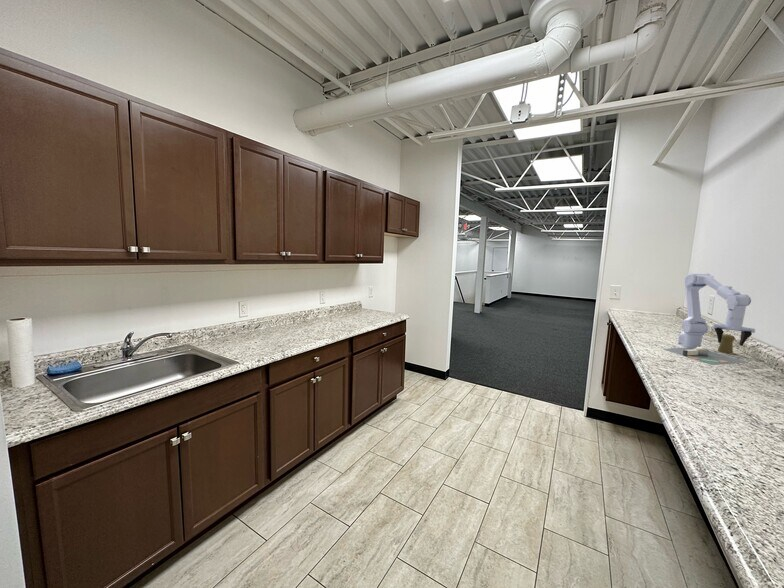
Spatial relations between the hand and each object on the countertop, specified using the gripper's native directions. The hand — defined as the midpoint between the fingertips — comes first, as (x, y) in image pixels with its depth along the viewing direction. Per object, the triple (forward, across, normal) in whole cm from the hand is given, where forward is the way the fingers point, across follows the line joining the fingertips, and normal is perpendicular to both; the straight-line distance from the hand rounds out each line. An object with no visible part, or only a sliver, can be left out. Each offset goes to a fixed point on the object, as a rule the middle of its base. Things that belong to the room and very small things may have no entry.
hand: (729, 343), depth 157 cm
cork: (+10, +3, +17) cm, 20 cm away
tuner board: (+10, -9, +1) cm, 13 cm away
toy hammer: (+8, -13, -1) cm, 15 cm away
